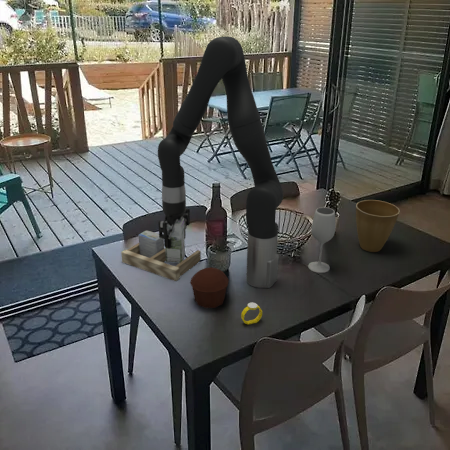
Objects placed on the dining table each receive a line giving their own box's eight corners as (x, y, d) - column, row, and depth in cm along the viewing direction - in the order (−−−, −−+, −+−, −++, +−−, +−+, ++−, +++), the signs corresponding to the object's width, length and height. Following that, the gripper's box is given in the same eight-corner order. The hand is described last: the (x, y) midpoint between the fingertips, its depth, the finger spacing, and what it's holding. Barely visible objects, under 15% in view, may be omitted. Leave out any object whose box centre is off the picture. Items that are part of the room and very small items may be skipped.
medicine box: (165, 257, 170) (164, 235, 166) (157, 262, 166) (155, 240, 162) (147, 251, 173) (146, 229, 170) (139, 256, 170) (137, 234, 166)
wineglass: (334, 267, 165) (341, 210, 156) (322, 275, 160) (329, 217, 151) (315, 259, 170) (321, 204, 161) (303, 267, 165) (308, 210, 155)
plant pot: (376, 261, 169) (383, 219, 162) (342, 245, 179) (347, 205, 172) (400, 249, 177) (408, 209, 170) (366, 234, 188) (372, 196, 181)
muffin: (204, 285, 154) (204, 258, 149) (235, 295, 149) (235, 267, 144) (183, 304, 144) (182, 275, 140) (214, 315, 139) (215, 286, 135)
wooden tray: (202, 261, 167) (201, 251, 165) (176, 281, 156) (175, 270, 154) (150, 244, 178) (149, 235, 176) (122, 262, 166) (121, 252, 164)
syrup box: (185, 255, 167) (184, 216, 160) (182, 263, 161) (181, 224, 155) (169, 253, 167) (167, 215, 161) (165, 262, 162) (163, 223, 155)
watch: (258, 318, 139) (260, 300, 137) (262, 323, 137) (264, 305, 134) (239, 321, 137) (241, 303, 134) (243, 327, 134) (245, 309, 132)
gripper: (169, 207, 147) (171, 255, 154) (196, 192, 158) (196, 237, 165) (150, 202, 151) (152, 249, 158) (177, 188, 162) (178, 232, 169)
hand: (175, 243), depth 162 cm, fingers closed on syrup box, 7 cm apart
